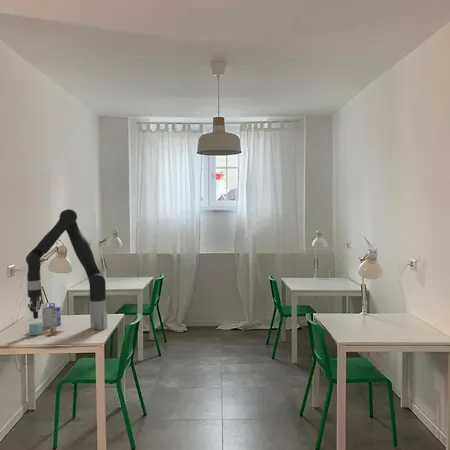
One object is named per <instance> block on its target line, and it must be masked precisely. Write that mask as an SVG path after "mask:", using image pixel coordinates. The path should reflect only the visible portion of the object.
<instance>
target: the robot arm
mask: <svg viewBox="0 0 450 450" xmlns="http://www.w3.org/2000/svg"><path fill="white" fill-rule="evenodd" d="M58 217H59V219H58V221H57V222H56V224H55V225H54V226H53V227H52V228H51V229H50V230H49V231H48V232H47V233H46V234H45V235H44V236H43V237H42V239H40V241H39V242H38V244H37V245H36V246H35V247H34V248H33V249H32V250H31V251H30V252H29V253H28V254H27V255H26V257H25V262H26V264H27V276H26V278H27V284H26V288H27V298H30V299H29V303H28V304H27V307H28V309H29V311H30V312H31V313H32V315H33V317H32V318H33V319H35V320H36V319H39V310H41V309H42V303H43V300H42V299H41V297H42V295H43V294H42V293H43V292H42V291H43V290H42V281H41V280H42V279H41V267H42V266H41V259H42V257H43V256H44V255H46V254H47V253H48V252H49V251H50V250H51V249H52V247H53V246H54V245H55V244H56V242H57V241H58V240H59V239H60V237H61V236H62V235H63V234H64V233H65V232H66V233H67V236H68V238H69V240H70V244H71V246H72V249H73V250H74V253H75V255H76V257H77V259H78V261H79V263H80V264H81V265H82V267H83V269H84V271H85V273H86V277H87V279H88V283H89V317H90V319H89V322H90V324H89V326H90V330H94V331H101V330H102V331H104V330H105V329H106V330H107V328H108V311H107V307H106V306H107V305H106V301H107V300H106V295H107V294H106V292H107V291H106V290H107V289H106V288H107V287H106V279H105V277H104V276H103V274H102V273H101V271H100V269H99V267H98V265H97V262H96V260H95V256H94V254H93V250H92V247H91V246H90V243H89V241H88V240H87V238H86V237H85V235H84V234H83V233H82V231H81V230H80V228H79V225H78V222H77V219H78V214H77V212H76V211H75V210H74V209H71V208H67V209H64V210H62V211H61V212H60V213H59V216H58Z"/></svg>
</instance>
